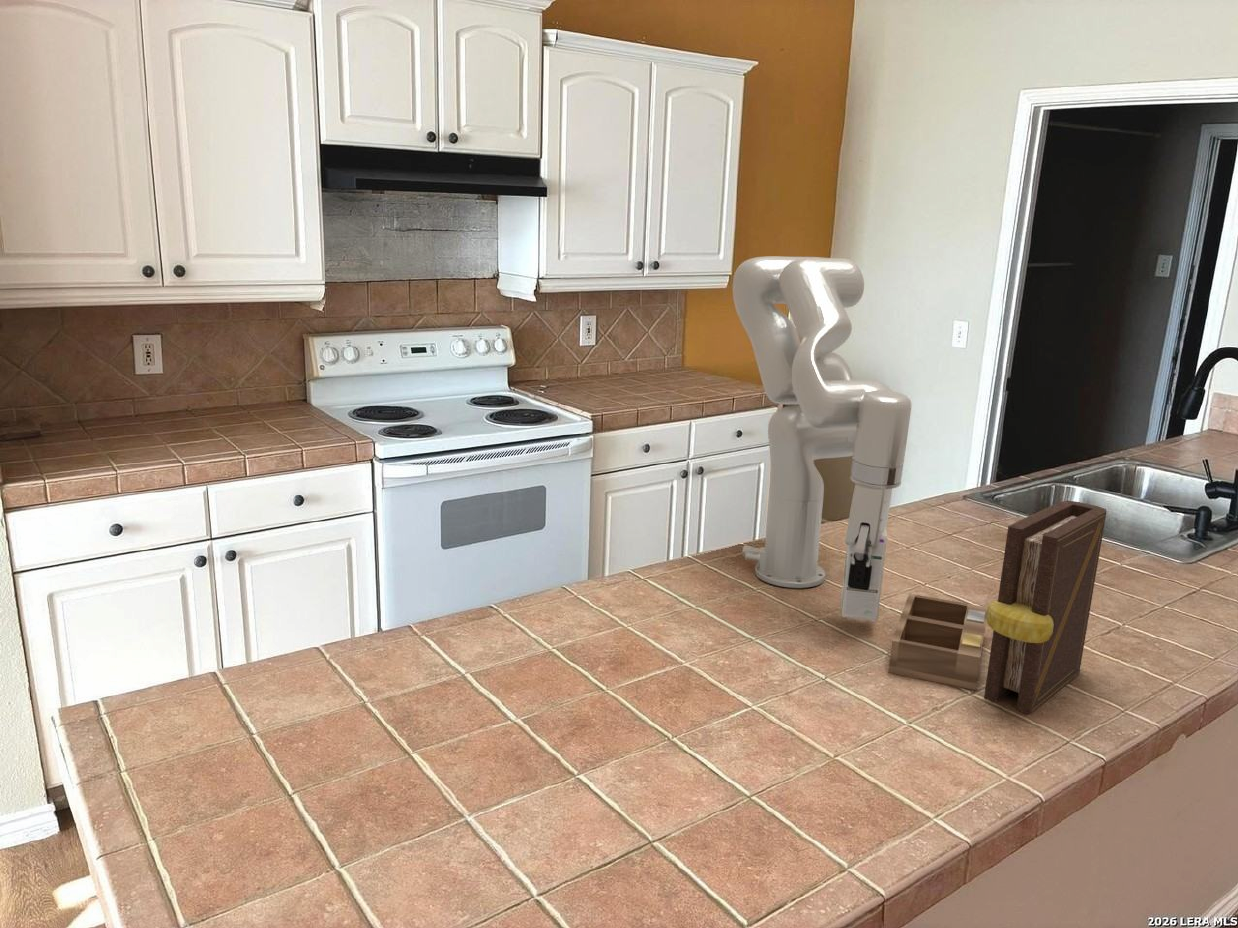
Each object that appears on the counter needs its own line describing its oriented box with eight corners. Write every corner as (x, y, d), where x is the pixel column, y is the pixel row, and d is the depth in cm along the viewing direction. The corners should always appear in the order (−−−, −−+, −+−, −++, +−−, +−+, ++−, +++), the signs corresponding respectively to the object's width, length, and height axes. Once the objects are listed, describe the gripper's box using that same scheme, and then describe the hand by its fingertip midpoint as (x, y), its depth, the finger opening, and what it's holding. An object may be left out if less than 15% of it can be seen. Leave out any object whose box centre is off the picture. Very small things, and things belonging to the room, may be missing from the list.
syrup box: (877, 621, 149) (889, 535, 144) (839, 616, 150) (850, 531, 146) (876, 606, 154) (887, 522, 150) (839, 601, 155) (849, 518, 151)
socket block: (975, 690, 133) (980, 655, 132) (888, 672, 138) (892, 638, 136) (983, 636, 151) (988, 605, 149) (905, 621, 155) (909, 591, 154)
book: (1033, 653, 145) (1057, 497, 139) (1091, 673, 139) (1119, 511, 133) (966, 701, 130) (990, 528, 124) (1028, 725, 124) (1056, 545, 118)
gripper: (861, 454, 154) (848, 556, 159) (840, 483, 139) (827, 595, 144) (909, 461, 151) (894, 565, 157) (893, 492, 136) (877, 606, 141)
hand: (862, 578), depth 150 cm, fingers closed on syrup box, 6 cm apart
